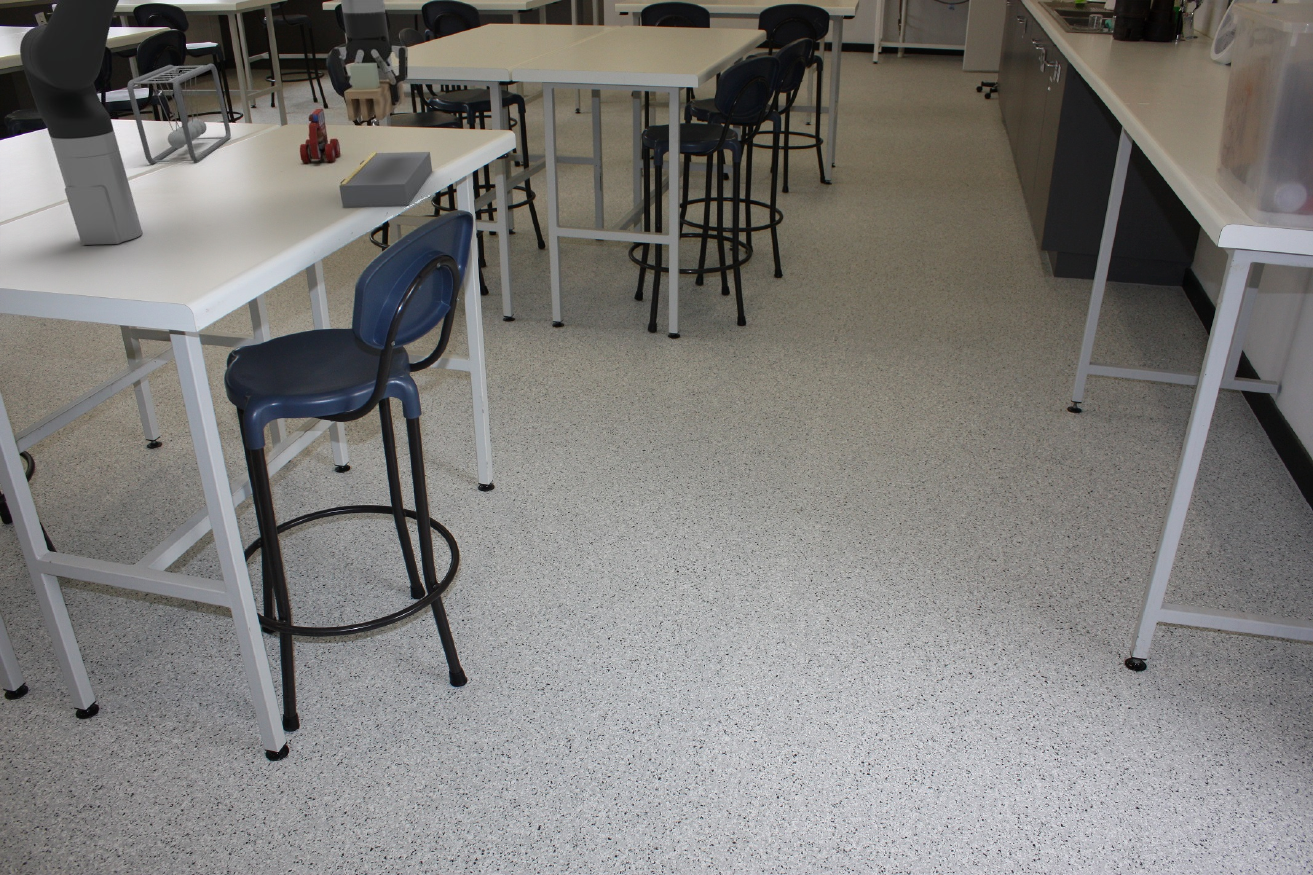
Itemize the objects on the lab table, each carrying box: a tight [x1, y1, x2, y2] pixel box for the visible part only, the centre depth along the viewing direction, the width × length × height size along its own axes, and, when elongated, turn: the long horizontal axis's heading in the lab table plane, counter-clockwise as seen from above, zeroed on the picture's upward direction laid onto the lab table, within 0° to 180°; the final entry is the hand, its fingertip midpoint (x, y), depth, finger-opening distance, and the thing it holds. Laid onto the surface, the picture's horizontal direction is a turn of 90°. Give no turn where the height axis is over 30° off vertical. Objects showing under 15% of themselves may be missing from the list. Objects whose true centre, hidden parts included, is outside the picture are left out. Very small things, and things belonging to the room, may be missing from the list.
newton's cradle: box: [127, 63, 232, 165], centre depth 219 cm, size 30×10×18 cm, turn 7°
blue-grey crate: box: [378, 54, 393, 80], centre depth 184 cm, size 4×4×4 cm
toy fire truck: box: [299, 108, 341, 164], centre depth 210 cm, size 7×12×10 cm, turn 5°
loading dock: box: [339, 151, 433, 208], centre depth 188 cm, size 28×13×4 cm, turn 2°
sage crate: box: [349, 63, 380, 89], centre depth 173 cm, size 4×4×4 cm
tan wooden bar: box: [343, 79, 406, 122], centre depth 181 cm, size 22×6×5 cm, turn 2°
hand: (377, 104), depth 181 cm, fingers closed on tan wooden bar, 6 cm apart
